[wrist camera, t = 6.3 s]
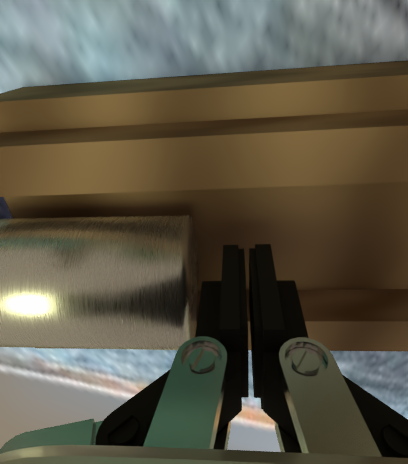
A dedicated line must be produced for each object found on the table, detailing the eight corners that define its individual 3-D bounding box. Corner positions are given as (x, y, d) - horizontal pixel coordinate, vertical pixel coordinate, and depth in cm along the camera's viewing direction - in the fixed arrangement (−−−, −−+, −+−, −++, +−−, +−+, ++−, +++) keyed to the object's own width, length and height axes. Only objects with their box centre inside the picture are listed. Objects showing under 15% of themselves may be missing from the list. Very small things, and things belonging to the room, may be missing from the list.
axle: (191, 191, 14) (174, 278, 9) (200, 282, 16) (190, 378, 12) (-128, 198, 15) (-264, 279, 11) (-68, 282, 18) (-156, 370, 14)
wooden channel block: (427, 59, 14) (537, 77, 9) (374, 282, 20) (421, 367, 15) (22, 87, 16) (-76, 116, 11) (86, 285, 22) (42, 362, 17)
